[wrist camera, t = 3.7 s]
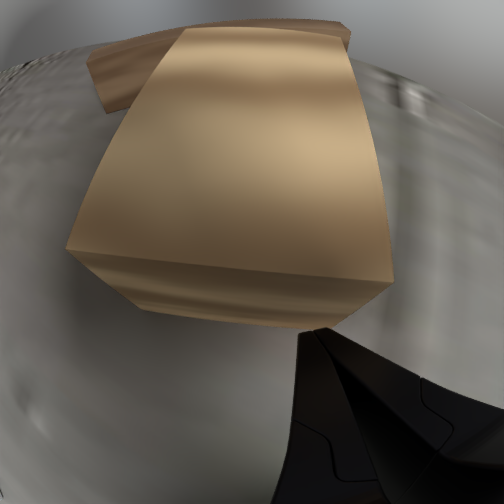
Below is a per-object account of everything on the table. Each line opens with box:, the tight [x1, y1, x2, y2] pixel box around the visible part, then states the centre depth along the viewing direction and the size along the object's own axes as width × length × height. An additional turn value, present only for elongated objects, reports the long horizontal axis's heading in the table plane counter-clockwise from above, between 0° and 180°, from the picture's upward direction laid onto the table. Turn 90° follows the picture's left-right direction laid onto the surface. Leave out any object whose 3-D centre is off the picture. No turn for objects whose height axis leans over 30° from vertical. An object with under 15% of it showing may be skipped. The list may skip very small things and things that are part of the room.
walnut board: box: [86, 19, 351, 114], centre depth 21 cm, size 2×22×6 cm, turn 101°
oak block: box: [65, 27, 394, 330], centre depth 15 cm, size 16×10×8 cm, turn 174°
